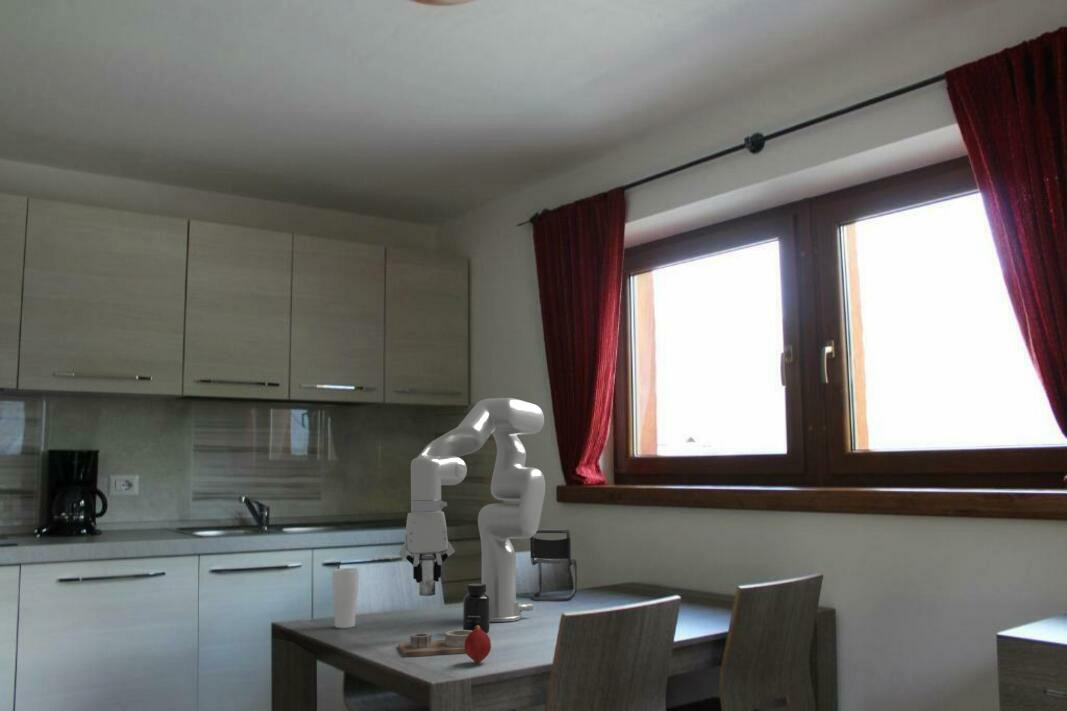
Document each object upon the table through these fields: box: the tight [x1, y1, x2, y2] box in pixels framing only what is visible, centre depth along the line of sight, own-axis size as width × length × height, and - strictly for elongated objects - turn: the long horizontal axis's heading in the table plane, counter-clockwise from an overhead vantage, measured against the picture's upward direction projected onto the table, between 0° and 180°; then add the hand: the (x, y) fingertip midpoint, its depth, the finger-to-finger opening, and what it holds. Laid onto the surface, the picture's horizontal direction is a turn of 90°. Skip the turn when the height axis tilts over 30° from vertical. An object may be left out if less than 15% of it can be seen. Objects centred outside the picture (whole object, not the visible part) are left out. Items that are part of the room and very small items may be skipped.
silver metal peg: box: [418, 553, 436, 597], centre depth 231 cm, size 4×4×10 cm
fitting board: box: [397, 629, 472, 658], centre depth 217 cm, size 19×12×4 cm, turn 105°
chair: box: [529, 529, 578, 602], centre depth 299 cm, size 13×17×22 cm
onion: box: [464, 626, 492, 664], centre depth 202 cm, size 6×6×8 cm
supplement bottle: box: [462, 583, 491, 634], centre depth 239 cm, size 7×7×12 cm
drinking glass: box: [332, 567, 359, 629], centre depth 248 cm, size 7×7×15 cm
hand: (427, 580), depth 231 cm, fingers closed on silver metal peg, 4 cm apart
